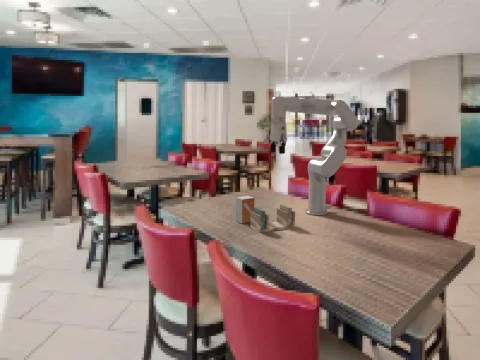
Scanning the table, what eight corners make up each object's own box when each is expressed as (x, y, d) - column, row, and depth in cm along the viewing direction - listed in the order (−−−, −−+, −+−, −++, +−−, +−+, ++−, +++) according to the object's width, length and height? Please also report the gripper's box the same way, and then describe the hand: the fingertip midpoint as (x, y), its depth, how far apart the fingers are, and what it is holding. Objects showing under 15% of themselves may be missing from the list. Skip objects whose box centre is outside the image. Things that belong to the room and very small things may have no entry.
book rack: (284, 222, 200) (285, 203, 198) (294, 227, 191) (295, 207, 189) (250, 227, 192) (250, 207, 191) (259, 232, 183) (259, 212, 181)
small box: (242, 223, 198) (242, 199, 196) (235, 221, 203) (235, 197, 201) (254, 221, 203) (254, 197, 200) (247, 218, 208) (247, 195, 206)
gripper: (293, 120, 195) (291, 154, 197) (276, 120, 210) (275, 151, 213) (280, 120, 192) (279, 154, 194) (264, 120, 207) (263, 151, 210)
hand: (277, 152), depth 204 cm, fingers open, 9 cm apart
